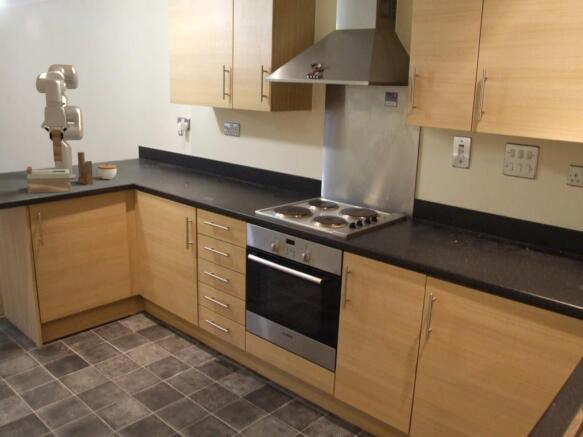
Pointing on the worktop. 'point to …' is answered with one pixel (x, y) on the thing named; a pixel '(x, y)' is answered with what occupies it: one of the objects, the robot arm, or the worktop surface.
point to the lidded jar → (107, 171)
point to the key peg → (57, 145)
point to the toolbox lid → (47, 173)
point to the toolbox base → (48, 185)
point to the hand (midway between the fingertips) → (56, 140)
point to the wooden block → (84, 170)
